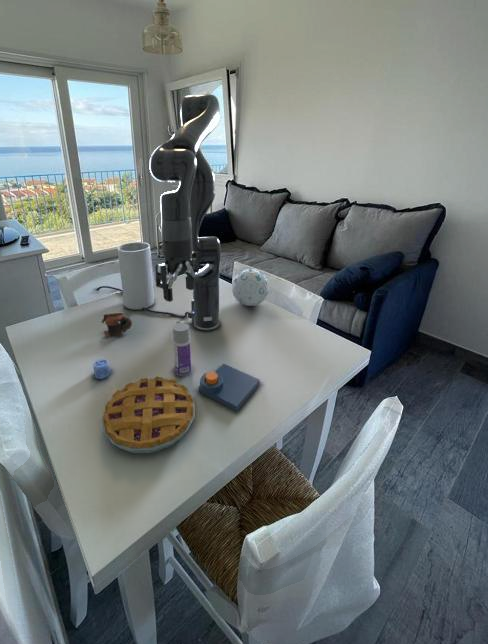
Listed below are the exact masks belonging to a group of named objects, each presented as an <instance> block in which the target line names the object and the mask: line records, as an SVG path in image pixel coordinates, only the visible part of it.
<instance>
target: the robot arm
mask: <svg viewBox="0 0 488 644" xmlns="http://www.w3.org/2000/svg"><path fill="white" fill-rule="evenodd" d="M220 117H221V108H220V102H219V99H218V97H217V96H216V95H215V94H209V93H205V94H193V95H191V94H190V95H186V96H183V97H182V99H181V103H180V120H181V125H180V126H179V127H178V128H177V130H176V131H175V132H174V133H173V135H172V137H171V138H170V139H168V140H166V141H165V142H164V143H162V144H160V145H159V146H158V147H157V148H156V149H155V150H154V151H153V152H152V154H151V157H150V159H149V170H150V171H149V172H150V173H151V176H152V177H153V178H154V179H155V180H157V181H159V182H164V183H165V182H167V183H169V182H170V183H173V182H174V183H175V182H177V183H179V185H178V188H177V189H176V190H172V191H167V192H164V193H163V194H161V196H160V201H159V202H160V214H161V215H160V217H161V222H160V229H161V230H160V232H161V248H162V255H163V256H164V258H165V260H164V263H161V264H160V263H156V264H155V286H156V287H157V288H160V289H162V293H163V299H164V300H165V301H166V302H169V303H171V302H172V301H173V300H174V298H173V296H174V295H173V288H172V287H173V285H174V282H175V281H176V280H177V278H178V277H179V276H181V275H183V274H185V288H186V290H189V291H193V292H192V295H193V297H192V298H193V299H192V300H191V302H190V308H191V309H190V310H189V311H185V312H184V315H178V314H175V313H172V312H168V311H159V310H152V309H149V308H142V309H141V310H143V311H146V312H148V313H152V314H153V313H154V314H159V315H160V314H161V315H168V316H173V317H175V318H176V317H177V318H181V319H184V318H188V319H191V325H193V326H194V327H195V329H197V330H199V331H205V332H206V331H213V330H216V329H217V328H218V327H219V326H220V271H221V270H220V269H221V256H222V255H221V254H222V253H221V252H222V247H221V241H220V240H219V237H217V236H201V237H199V233H200V228H201V226H202V222H203V220H204V218H205V216H206V215H207V213H208V212H209V210H210V208H211V206H212V205H213V202H214V201H215V197H216V177H215V173H214V171H213V168H212V167H211V165H210V163H209V162H208V160H207V159H206V157H205V156H204V154H203V153H202V151H201V149H200V147H201V145H202V143H203V142H204V141H205V140H206V139H207V137H208V136H209V135H211V133H212V132H213V131H214V130H215V129H216V128H217V127H218V125H219V124H220V123H219V122H220ZM203 265H204V266H203ZM200 266H203V267H202V268H201V269H200ZM100 289H111V290H114V291H119V292H121V293H122V294H123V290H122V288H117V287H115V286H108V285H102V286H101V285H100V286H99V287H98V288H96V291H99V290H100Z"/></svg>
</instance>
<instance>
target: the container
mask: <svg viewBox="0 0 488 644" xmlns="http://www.w3.org/2000/svg"><path fill="white" fill-rule="evenodd" d="M172 339H173V341H172V342H173V343H172V345H173V359H174V373H175V375H177V376H180V377H185V376H187V375H189V374H191V372H192V360H191V359H192V358H191V357H192V356H191V338H190V325H189V324H188V323H186V322H178V323H175V324H174V325H173V326H172Z"/></svg>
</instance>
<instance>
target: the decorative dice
mask: <svg viewBox="0 0 488 644" xmlns="http://www.w3.org/2000/svg"><path fill="white" fill-rule="evenodd" d="M92 366H93V374H94V377H95V378H96V379H97V380H103V379H105V378H108V377H109V376H110V365H109V360H107V359H105V358H100V359H97V360H96V361H94V362H93V364H92Z"/></svg>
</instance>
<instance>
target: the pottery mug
mask: <svg viewBox="0 0 488 644" xmlns="http://www.w3.org/2000/svg"><path fill="white" fill-rule="evenodd" d="M101 324H105V325H106V327H107V330H104V331H103V334H104V337H105V338H117V337H122V335H123V333H126V332H127V331H128V330H129V329H131V327H132V324H133V322H132V319H131V318H130V317H126V314H125V312H113V313H105V314H103V317H102V319H101Z"/></svg>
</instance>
